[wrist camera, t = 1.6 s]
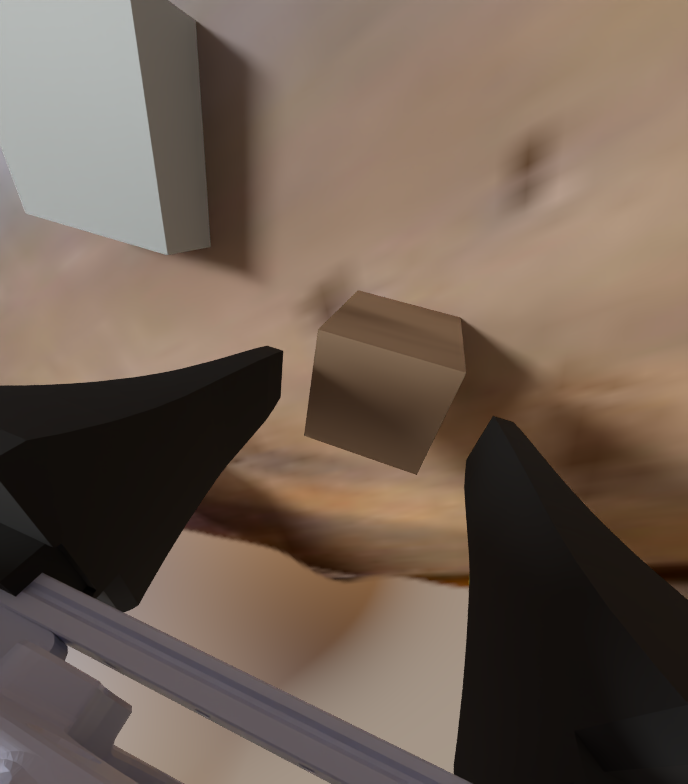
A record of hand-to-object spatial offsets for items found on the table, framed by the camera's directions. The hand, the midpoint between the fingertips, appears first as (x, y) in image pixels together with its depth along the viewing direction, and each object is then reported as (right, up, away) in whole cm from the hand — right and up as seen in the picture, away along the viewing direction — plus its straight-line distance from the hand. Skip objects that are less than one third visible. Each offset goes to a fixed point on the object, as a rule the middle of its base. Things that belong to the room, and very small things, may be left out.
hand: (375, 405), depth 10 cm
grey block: (-10, +11, +3) cm, 15 cm away
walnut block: (+1, +2, +4) cm, 5 cm away
